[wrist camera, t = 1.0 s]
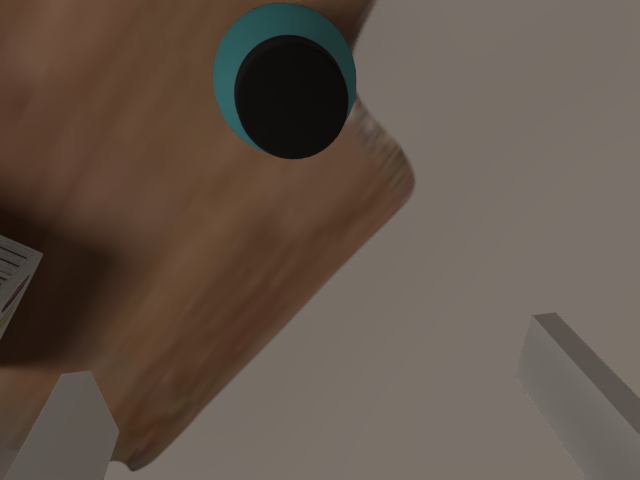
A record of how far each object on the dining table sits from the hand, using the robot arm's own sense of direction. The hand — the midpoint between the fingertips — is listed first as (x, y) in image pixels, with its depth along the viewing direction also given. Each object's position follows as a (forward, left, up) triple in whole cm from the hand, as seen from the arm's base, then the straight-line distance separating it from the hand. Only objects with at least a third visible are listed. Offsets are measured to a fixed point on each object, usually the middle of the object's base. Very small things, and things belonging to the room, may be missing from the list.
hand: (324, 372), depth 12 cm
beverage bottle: (-6, +4, -26) cm, 26 cm away
